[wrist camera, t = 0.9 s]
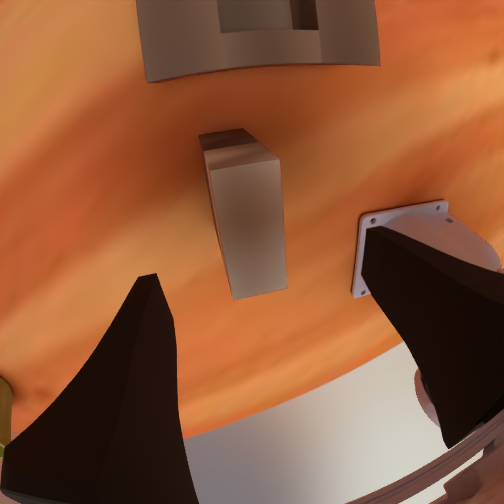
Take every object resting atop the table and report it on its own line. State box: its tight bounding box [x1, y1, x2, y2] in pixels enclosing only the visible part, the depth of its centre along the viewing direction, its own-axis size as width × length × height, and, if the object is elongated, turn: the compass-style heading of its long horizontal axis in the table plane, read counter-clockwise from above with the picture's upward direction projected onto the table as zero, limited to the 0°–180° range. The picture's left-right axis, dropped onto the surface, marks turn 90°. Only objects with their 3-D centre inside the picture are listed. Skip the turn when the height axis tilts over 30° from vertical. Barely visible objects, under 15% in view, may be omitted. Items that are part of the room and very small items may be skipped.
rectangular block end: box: [199, 128, 287, 301], centre depth 15 cm, size 2×6×7 cm, turn 6°
